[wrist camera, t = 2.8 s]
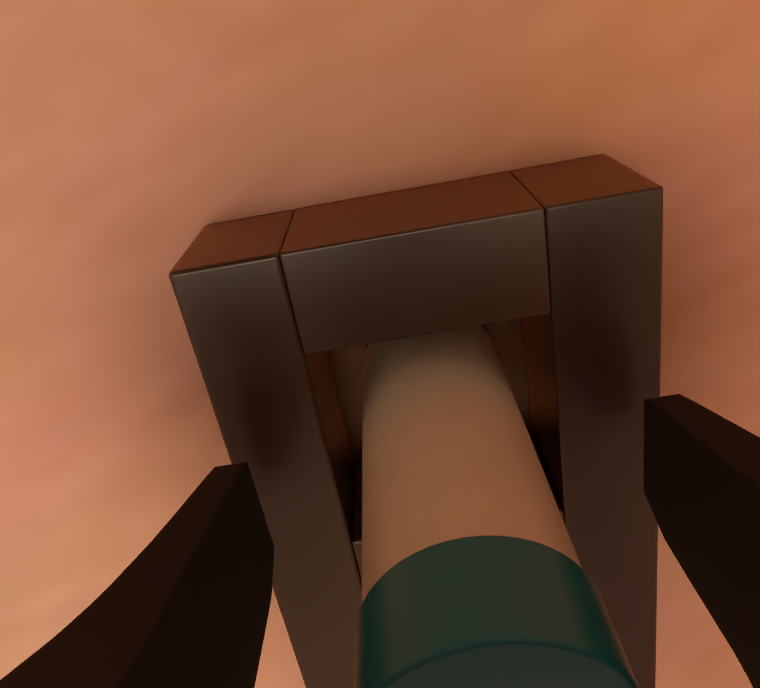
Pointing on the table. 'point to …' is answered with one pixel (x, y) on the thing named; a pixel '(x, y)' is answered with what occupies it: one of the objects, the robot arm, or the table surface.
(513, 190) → the block
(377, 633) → the marker
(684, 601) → the table surface
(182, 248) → the table surface
